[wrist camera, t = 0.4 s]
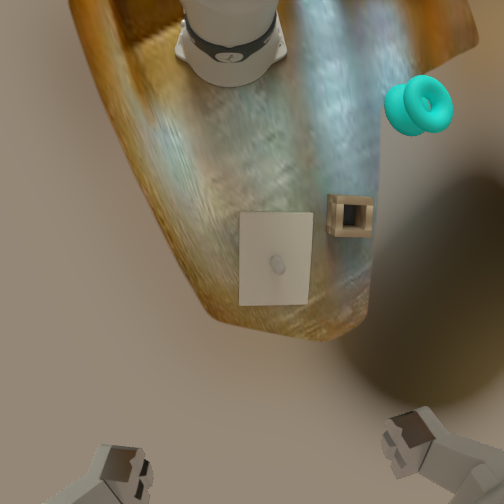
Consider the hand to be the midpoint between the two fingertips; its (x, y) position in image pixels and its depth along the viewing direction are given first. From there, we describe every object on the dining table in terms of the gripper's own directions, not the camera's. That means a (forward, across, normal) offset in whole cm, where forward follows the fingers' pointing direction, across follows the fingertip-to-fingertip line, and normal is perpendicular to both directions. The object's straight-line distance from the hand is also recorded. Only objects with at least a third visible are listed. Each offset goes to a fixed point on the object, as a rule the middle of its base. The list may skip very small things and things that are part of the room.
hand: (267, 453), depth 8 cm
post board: (+45, -6, +6) cm, 46 cm away
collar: (+45, -18, 0) cm, 49 cm away
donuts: (+45, -32, -19) cm, 59 cm away
